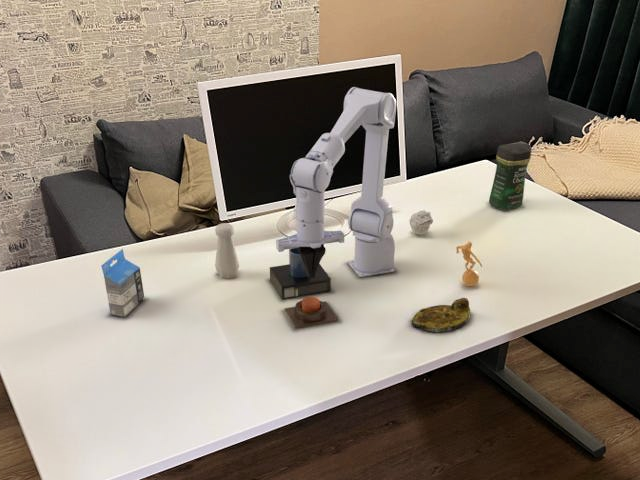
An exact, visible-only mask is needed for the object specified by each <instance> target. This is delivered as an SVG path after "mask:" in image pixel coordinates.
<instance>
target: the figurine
mask: <svg viewBox="0 0 640 480" xmlns="http://www.w3.org/2000/svg"><path fill="white" fill-rule="evenodd" d="M472 246H473V242H472V241H468V242H466V244H464V245H457V246H456V254H460V250H461V253H462V255H463V256H462V258H463V260H464V261H466V262H465V264H464V266H465V271H464V272H463V274H462V277H461V280H462V283H463V284H464V285H465V286H467V287H473V286H476V285H477V284H478V282H479V280H480V275H479V273H478V272H477V271H476V270H475V269H473V268H474V267H475V265H476V262H477V263H478V264H479V265H480V268H482V267H483V265H482V263H481V261H480V259H478V257H477V256H476V254H475V253H474V252H473V250H472ZM459 249H460V250H459ZM471 256H472V257H471ZM473 258H474V259H475V260H476V261H474V259H473ZM470 264H471V265H470ZM468 266H469V267H468Z"/></svg>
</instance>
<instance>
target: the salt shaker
mask: <svg viewBox="0 0 640 480" xmlns="http://www.w3.org/2000/svg"><path fill="white" fill-rule="evenodd" d="M214 228H215V229H214V231H215V235H216V236H217V244H216V254H215V263H214V267H215V269H216V271H217V273H218V275H219V276H220V277H221V278H222V279H231V278H233V277H236V276H237V273H238V271H239V269H240V262H239V260H238V259H239V258H238V255H237V252H236V247H235V244H234V240H233V235H234V234H235V229H234V226H233V225H232V224H230V223H228V222H221V223H219V224H217V225H216V226H215V227H214Z"/></svg>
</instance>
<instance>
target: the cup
mask: <svg viewBox="0 0 640 480" xmlns="http://www.w3.org/2000/svg"><path fill="white" fill-rule="evenodd" d="M288 264H289V271H290V275H291V276H293V277H296V278H303V277H307V275H306V270H305V266H304V262H303V260H302V257H301V255H300V253H299V251H298V249H297V248H293V249H288Z"/></svg>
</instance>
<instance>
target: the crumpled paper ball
mask: <svg viewBox="0 0 640 480" xmlns="http://www.w3.org/2000/svg"><path fill="white" fill-rule="evenodd" d="M433 223H434V219H433V217H432V215H431V211H426V210H425V209H423V210H419V211H418V212H414V213H413V214H412V215H411V216H410V218H409V225H410V228H411V231H412V232H413V234H415V235H419V236H421V235H424V234H427V233H428V231H429V229H430V228H431V225H432V224H433Z"/></svg>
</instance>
